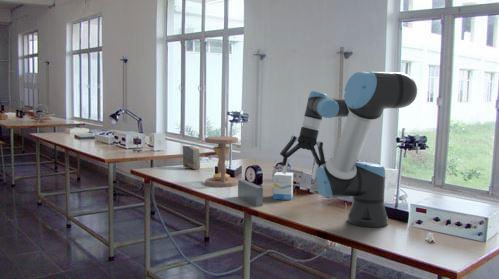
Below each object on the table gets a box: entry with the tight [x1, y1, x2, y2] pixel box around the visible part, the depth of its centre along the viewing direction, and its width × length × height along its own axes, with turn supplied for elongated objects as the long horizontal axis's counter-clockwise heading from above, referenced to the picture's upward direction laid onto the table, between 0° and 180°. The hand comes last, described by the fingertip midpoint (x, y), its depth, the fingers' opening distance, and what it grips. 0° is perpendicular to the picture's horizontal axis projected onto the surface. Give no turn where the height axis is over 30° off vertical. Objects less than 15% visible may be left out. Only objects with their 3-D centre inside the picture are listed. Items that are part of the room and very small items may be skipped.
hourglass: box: [204, 135, 239, 188], centre depth 251 cm, size 18×18×25 cm
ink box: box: [272, 171, 294, 201], centre depth 221 cm, size 8×8×12 cm
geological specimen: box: [182, 145, 201, 170], centre depth 298 cm, size 11×6×15 cm, turn 45°
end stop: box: [237, 179, 264, 207], centre depth 214 cm, size 20×5×8 cm, turn 25°
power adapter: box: [425, 232, 436, 243], centre depth 159 cm, size 3×3×3 cm
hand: (298, 176), depth 200 cm, fingers open, 13 cm apart
